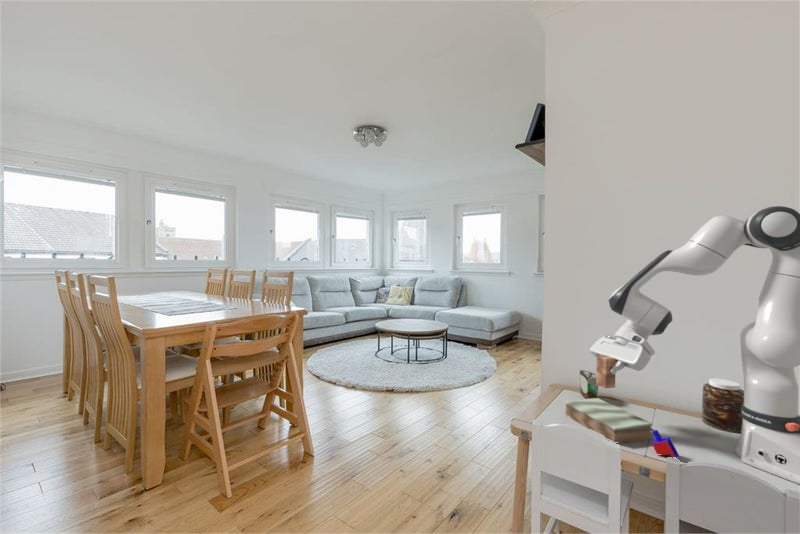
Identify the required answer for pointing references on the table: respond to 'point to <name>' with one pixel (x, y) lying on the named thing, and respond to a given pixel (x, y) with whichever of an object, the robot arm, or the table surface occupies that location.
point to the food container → (588, 384)
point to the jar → (722, 405)
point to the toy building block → (663, 445)
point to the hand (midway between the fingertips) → (604, 370)
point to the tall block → (605, 371)
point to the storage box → (608, 420)
